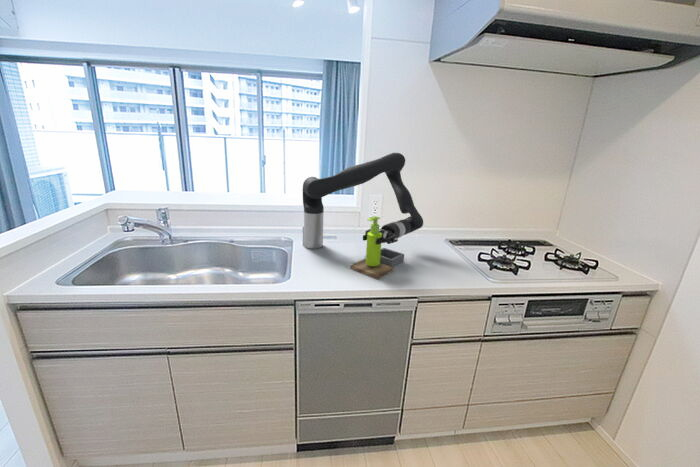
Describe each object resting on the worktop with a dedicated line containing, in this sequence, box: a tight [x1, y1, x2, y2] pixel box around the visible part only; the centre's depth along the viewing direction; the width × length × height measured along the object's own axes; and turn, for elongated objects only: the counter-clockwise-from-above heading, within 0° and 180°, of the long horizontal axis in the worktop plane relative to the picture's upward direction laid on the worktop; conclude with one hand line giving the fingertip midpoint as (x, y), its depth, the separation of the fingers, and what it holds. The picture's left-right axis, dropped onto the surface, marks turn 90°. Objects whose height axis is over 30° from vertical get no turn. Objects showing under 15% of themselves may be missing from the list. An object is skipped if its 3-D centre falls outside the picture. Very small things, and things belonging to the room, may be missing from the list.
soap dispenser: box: [365, 215, 382, 266], centre depth 128 cm, size 6×7×20 cm
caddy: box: [380, 247, 405, 269], centre depth 140 cm, size 11×10×4 cm
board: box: [349, 258, 394, 280], centre depth 132 cm, size 14×11×2 cm
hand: (370, 240), depth 126 cm, fingers closed on soap dispenser, 6 cm apart
